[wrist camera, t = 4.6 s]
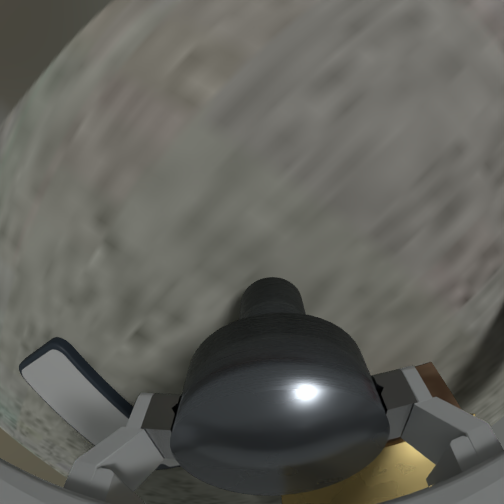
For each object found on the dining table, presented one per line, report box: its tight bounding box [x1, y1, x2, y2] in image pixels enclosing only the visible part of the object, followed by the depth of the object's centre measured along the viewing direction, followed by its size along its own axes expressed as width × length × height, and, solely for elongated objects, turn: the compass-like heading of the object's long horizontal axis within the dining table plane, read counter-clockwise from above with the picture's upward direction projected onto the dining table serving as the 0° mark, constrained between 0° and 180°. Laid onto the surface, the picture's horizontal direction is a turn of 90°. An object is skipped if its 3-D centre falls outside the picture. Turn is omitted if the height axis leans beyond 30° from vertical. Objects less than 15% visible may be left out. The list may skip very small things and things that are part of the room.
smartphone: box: [19, 337, 180, 470], centre depth 20 cm, size 9×2×16 cm
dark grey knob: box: [170, 277, 390, 495], centre depth 11 cm, size 6×6×8 cm
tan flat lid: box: [281, 413, 475, 504], centre depth 11 cm, size 12×8×1 cm
